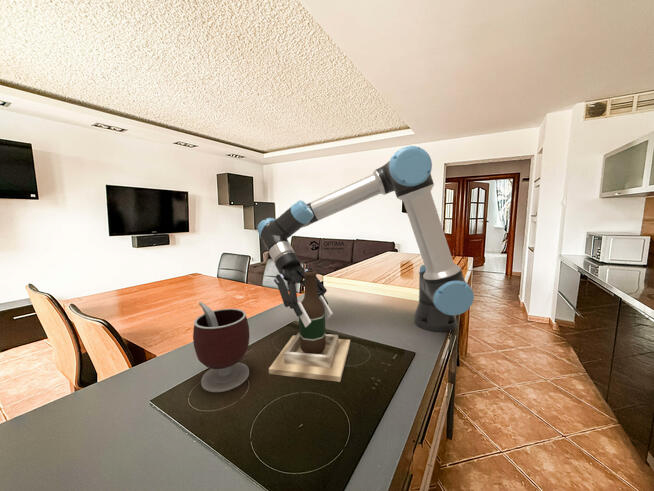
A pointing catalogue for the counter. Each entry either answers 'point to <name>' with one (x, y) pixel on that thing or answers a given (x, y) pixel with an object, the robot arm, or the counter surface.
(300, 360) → the bottle holder
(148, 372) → the counter surface
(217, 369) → the mate gourd
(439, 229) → the robot arm
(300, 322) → the beer bottle
